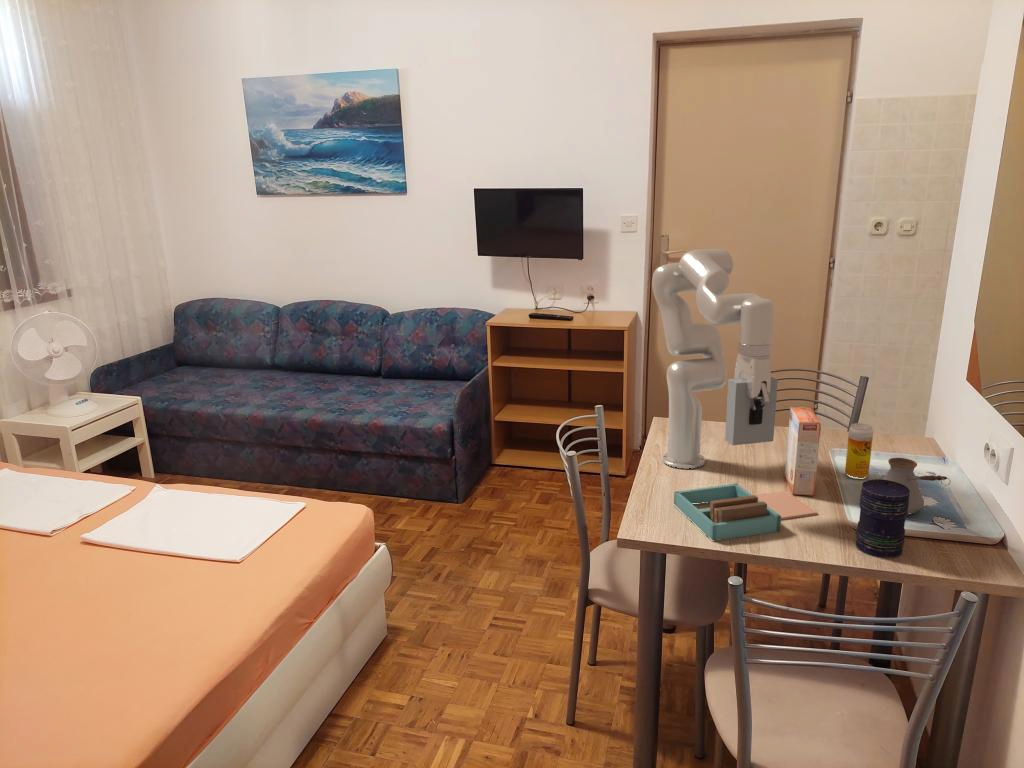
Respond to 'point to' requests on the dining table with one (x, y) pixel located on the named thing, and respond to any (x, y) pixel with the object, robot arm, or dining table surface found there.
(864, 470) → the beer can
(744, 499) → the offcut slab
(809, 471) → the cracker box
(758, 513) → the offcut slab
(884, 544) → the dark-blue ribbed cylinder
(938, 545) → the dining table surface
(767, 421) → the grey block
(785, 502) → the mat
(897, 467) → the coffee pot
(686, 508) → the rack
